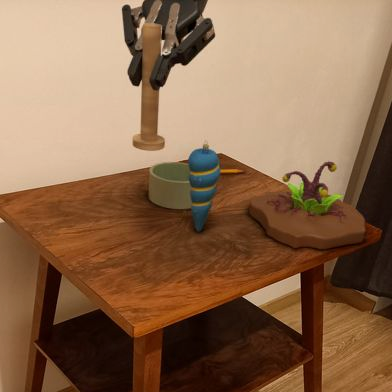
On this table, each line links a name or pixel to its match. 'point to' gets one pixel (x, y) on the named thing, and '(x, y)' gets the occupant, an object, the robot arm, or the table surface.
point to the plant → (308, 215)
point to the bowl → (170, 185)
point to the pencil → (230, 171)
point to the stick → (149, 91)
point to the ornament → (202, 182)
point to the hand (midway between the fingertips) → (143, 84)
